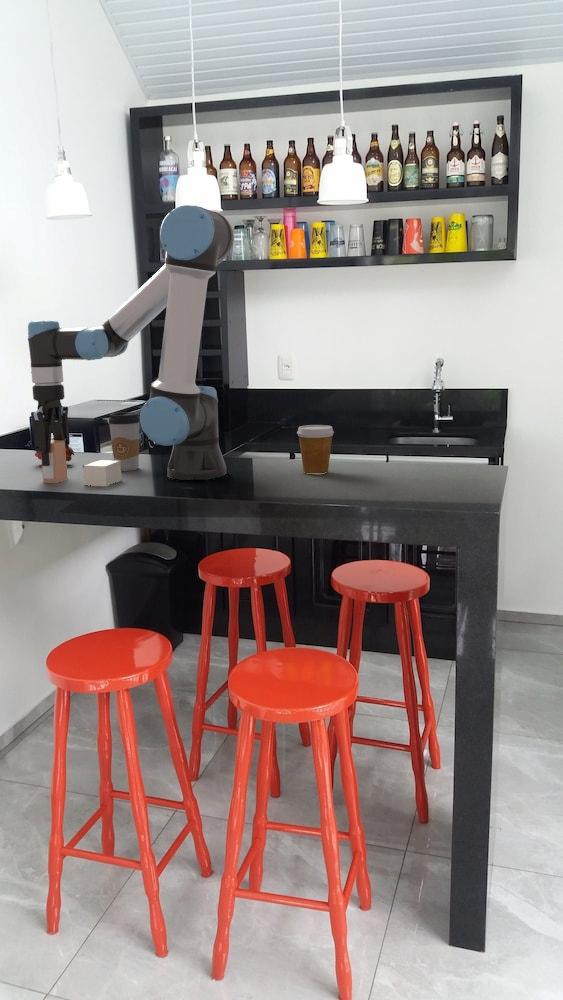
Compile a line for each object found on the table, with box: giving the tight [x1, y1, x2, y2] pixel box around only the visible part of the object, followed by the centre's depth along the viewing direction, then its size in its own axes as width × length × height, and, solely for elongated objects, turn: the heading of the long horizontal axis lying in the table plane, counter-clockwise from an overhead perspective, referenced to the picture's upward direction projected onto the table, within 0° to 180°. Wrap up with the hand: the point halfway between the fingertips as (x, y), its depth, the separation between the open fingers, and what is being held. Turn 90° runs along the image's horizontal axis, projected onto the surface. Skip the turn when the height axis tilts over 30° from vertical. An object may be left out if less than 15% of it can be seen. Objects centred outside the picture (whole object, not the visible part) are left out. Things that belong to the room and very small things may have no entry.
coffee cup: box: [108, 411, 140, 472], centre depth 224 cm, size 8×8×15 cm
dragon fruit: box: [34, 437, 75, 462], centre depth 233 cm, size 8×8×12 cm
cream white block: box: [82, 459, 122, 487], centre depth 207 cm, size 6×8×5 cm
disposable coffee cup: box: [296, 424, 335, 473], centre depth 214 cm, size 10×10×12 cm
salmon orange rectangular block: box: [40, 440, 68, 484], centre depth 210 cm, size 4×5×10 cm
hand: (55, 475), depth 211 cm, fingers closed on salmon orange rectangular block, 5 cm apart
